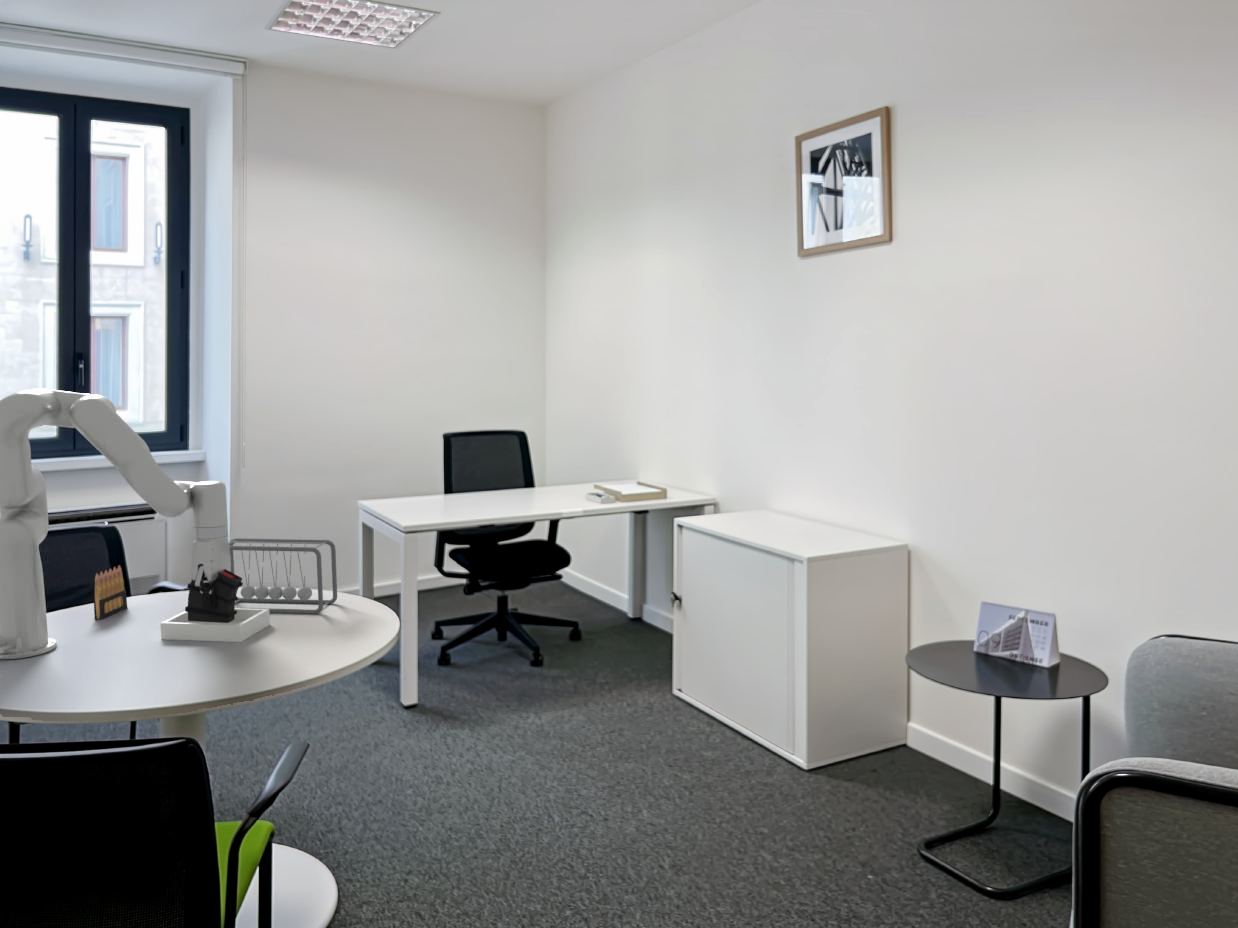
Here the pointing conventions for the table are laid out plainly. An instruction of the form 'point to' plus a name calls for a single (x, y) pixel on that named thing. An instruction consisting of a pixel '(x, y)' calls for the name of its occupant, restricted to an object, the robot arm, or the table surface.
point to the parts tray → (216, 627)
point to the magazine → (225, 599)
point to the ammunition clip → (109, 594)
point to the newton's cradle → (288, 591)
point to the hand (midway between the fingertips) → (214, 605)
